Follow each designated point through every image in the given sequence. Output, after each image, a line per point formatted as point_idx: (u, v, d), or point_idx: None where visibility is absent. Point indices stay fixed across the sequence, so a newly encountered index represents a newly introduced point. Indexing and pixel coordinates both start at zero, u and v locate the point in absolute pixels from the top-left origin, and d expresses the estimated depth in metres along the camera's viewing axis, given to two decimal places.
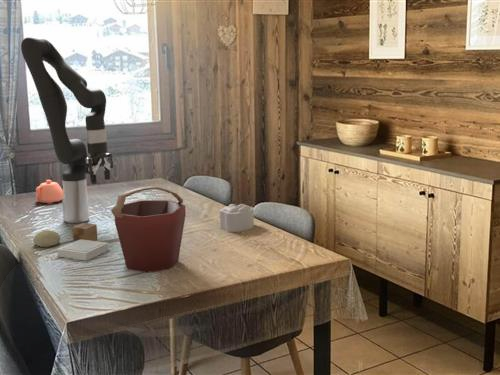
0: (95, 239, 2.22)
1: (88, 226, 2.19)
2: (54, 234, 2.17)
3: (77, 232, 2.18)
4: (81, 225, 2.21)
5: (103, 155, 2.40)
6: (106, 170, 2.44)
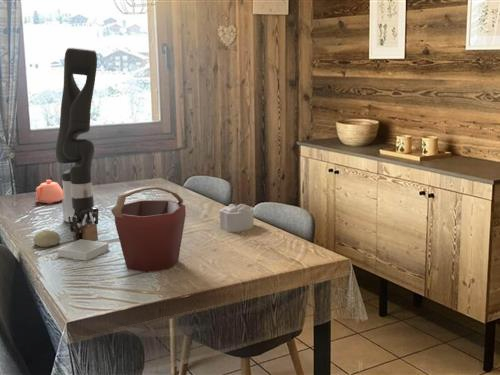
0: (95, 239, 2.22)
1: (88, 226, 2.19)
2: (54, 234, 2.17)
3: None
4: None
5: (89, 210, 2.20)
6: None
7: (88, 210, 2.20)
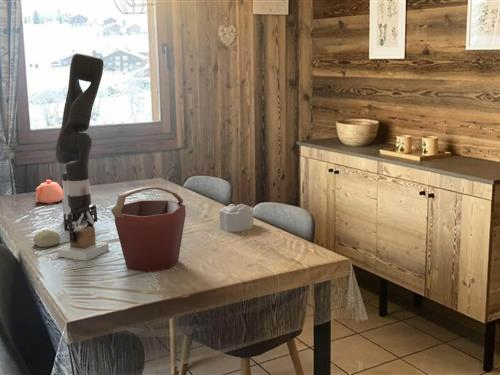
0: (93, 243, 2.08)
1: (86, 229, 2.06)
2: (54, 234, 2.17)
3: None
4: (78, 228, 2.07)
5: (86, 208, 2.06)
6: (89, 224, 2.10)
7: (85, 209, 2.06)
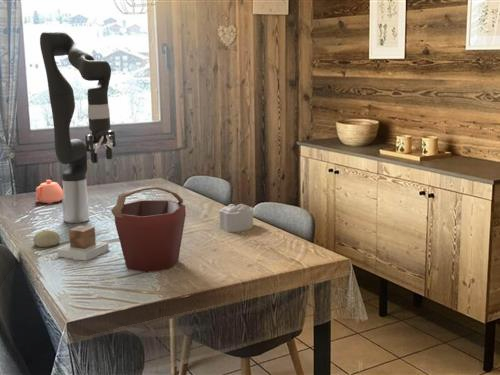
0: (93, 243, 2.08)
1: (86, 229, 2.06)
2: (54, 234, 2.17)
3: (74, 235, 2.05)
4: (78, 228, 2.07)
5: (105, 132, 2.22)
6: (108, 149, 2.26)
7: (105, 133, 2.22)
